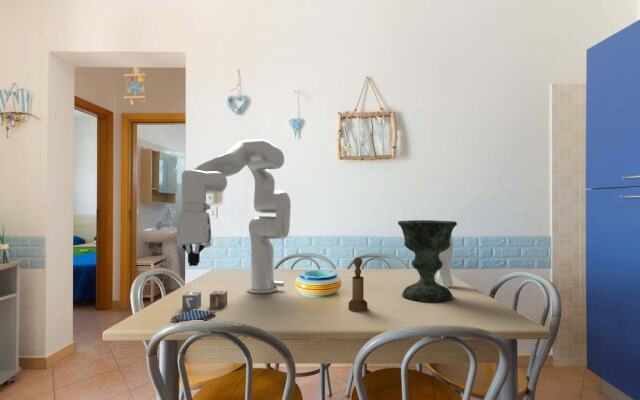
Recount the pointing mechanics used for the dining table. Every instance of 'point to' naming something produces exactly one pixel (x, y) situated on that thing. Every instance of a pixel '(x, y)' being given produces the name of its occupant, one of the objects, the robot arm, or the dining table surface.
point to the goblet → (427, 257)
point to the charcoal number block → (191, 300)
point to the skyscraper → (445, 267)
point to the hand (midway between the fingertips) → (193, 265)
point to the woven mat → (193, 315)
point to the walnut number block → (218, 299)
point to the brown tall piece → (357, 290)
